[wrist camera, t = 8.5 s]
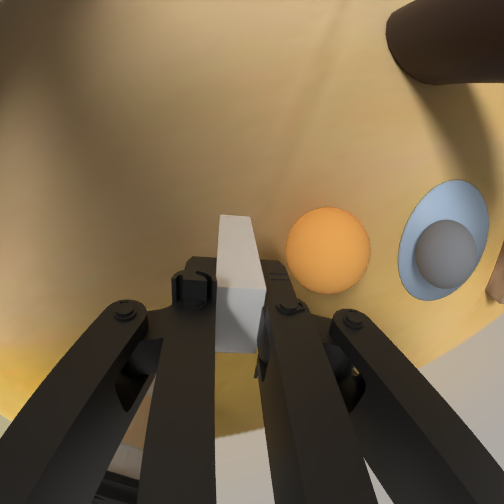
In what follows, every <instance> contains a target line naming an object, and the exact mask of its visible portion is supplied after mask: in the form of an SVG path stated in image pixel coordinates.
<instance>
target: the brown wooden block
mask: <svg viewBox="0 0 504 504" xmlns="http://www.w3.org/2000/svg"><path fill="white" fill-rule="evenodd" d="M485 291H486V292H487V293H489V294H490V295H491V296H492V297H493V298H494V299H495V300H496V301H497V302H498V303H499V304H504V243H503V246H502V249H501V252H500V254H499V257H498V260H497V263H496V265H495V268H494V271H493V273H492V276H491V278H490V281H489V283H488V285H487V288H486V290H485Z"/></svg>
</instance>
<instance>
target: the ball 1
mask: <svg viewBox="0 0 504 504" xmlns="http://www.w3.org/2000/svg"><path fill="white" fill-rule="evenodd" d="M370 255H371V247H370V240H369V237H368V234H367V232H366V230H365V228H364V226H363V225H362V224H361V223H360V221H359V220H358V219H357V218H356V217H355V216H353V215H352V214H350V213H348V212H346V211H344V210H342V209H338V208H333V207H323V208H318V209H315V210H312V211H310V212H308V213H306V214H305V215H303V216H302V217H301V218H299V219H298V220H297V222H296V223H295V224H294V226H293V227H292V228H291V230H290V232H289V235H288V238H287V242H286V260H287V263H288V266H289V269H290V271H291V273H292V274H293V276H294V277H295V278H296V280H297V281H298V282H299V283H300V284H302V285H303V286H304V287H306V288H308V289H309V290H312V291H314V292H317V293H322V294H334V293H339V292H342V291H345V290H347V289H349V288H350V287H352V286H353V285H355V284H356V283H357V282H358V281H359V280H360V279H361V278H362V276H363V275H364V273H365V271H366V269H367V267H368V264H369V261H370Z"/></svg>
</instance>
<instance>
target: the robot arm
mask: <svg viewBox="0 0 504 504" xmlns="http://www.w3.org/2000/svg"><path fill="white" fill-rule="evenodd" d="M171 281H172V305H170V306H169V307H166V308H164V309H160V310H154V311H147V310H146V307H145V306H144V305H143V304H142V303H140V302H138V301H135V300H120V301H117V302H114V303H112V304H111V305H109V306H108V307H107V308H106V309H105V310H104V311H103V312H102V313H101V314H100V315H99V316H98V318H97V319H96V320H95V321H94V322H93V323H92V324H91V325H90V326H89V327H88V329H87V330H86V331H85V332H84V333H83V334H82V335H81V337H80V338H79V339H78V340H77V341H76V342H75V343H74V345H73V346H72V347H71V348H70V349H69V350H68V352H67V353H66V354H65V355H64V356H63V357H62V359H61V360H60V361H59V362H58V363H57V365H56V366H55V367H54V368H53V369H52V371H51V372H50V373H49V374H48V376H47V377H46V378H45V379H44V381H43V382H42V383H41V384H40V386H39V387H38V388H37V389H36V391H35V392H34V393H33V395H32V396H31V397H30V398H29V400H28V401H27V402H26V404H25V405H24V406H23V408H22V409H21V410H20V412H19V413H18V415H17V416H16V417H15V419H14V420H13V421H12V423H11V424H10V426H9V427H8V428H7V430H6V431H5V433H4V434H3V436H2V437H1V439H0V504H91V502H92V500H93V498H94V496H95V494H96V491H97V489H98V487H99V485H100V483H101V481H102V479H103V477H104V475H105V473H106V471H107V469H108V467H109V465H110V463H111V461H112V459H113V457H114V455H115V453H116V451H117V449H118V447H119V445H120V443H121V441H122V439H123V437H124V435H125V433H126V431H127V430H128V428H129V426H130V424H131V422H132V420H133V418H134V416H135V414H136V412H137V410H138V408H139V406H140V405H141V403H142V401H143V399H144V397H145V395H146V393H147V391H148V389H149V388H150V386H151V384H152V382H153V380H154V378H155V375H156V378H155V383H154V388H153V393H152V399H151V404H150V410H149V416H148V422H147V428H146V434H145V441H144V448H143V455H142V463H141V471H140V479H139V488H138V498H137V504H216V478H215V421H214V388H215V352H226V353H256V348H257V346H258V359H257V364H256V369H255V375H254V378H257V376H258V380H259V387H260V395H261V403H262V411H263V419H264V426H265V434H266V441H267V449H268V456H269V463H270V471H271V479H272V486H273V493H274V500H275V504H378V502H377V498H376V495H375V492H374V489H373V485H372V482H371V479H370V476H369V473H368V470H367V467H366V464H365V461H364V459H365V460H366V462H367V463H368V465H369V467H370V468H371V470H372V471H373V473H374V474H375V476H376V477H377V479H378V480H379V482H380V483H381V485H382V486H383V488H384V489H385V491H386V492H387V494H388V495H389V497H390V498H391V500H392V501H393V503H394V504H504V471H503V470H502V468H501V467H500V466H499V465H498V463H497V462H496V461H495V459H494V458H493V457H492V456H491V454H490V453H489V452H488V451H487V449H486V448H485V447H484V446H483V445H482V443H481V442H480V441H479V440H478V439H477V437H476V436H475V435H474V434H473V432H472V431H471V430H470V429H469V428H468V426H467V425H466V424H465V423H464V422H463V421H462V419H461V418H460V417H459V416H458V415H457V414H456V412H455V411H454V410H453V409H452V408H451V407H450V405H449V404H448V403H447V402H446V401H445V400H444V399H443V397H441V395H440V394H439V393H438V392H437V391H436V390H435V388H434V387H433V386H432V385H431V384H430V383H429V382H428V381H427V379H426V378H425V377H424V376H423V375H422V374H421V373H420V372H419V371H418V370H417V368H416V367H415V366H414V365H413V364H412V363H411V362H410V361H409V360H408V359H407V358H406V356H405V355H404V354H403V353H402V352H401V351H400V350H399V349H398V348H397V347H396V346H395V345H394V344H393V343H392V341H391V340H390V339H389V338H388V337H387V336H386V335H385V334H384V333H383V332H382V331H381V330H380V329H379V328H378V327H377V326H376V325H375V324H374V323H373V322H372V321H371V319H370V318H369V317H367V316H366V315H365V314H363V313H361V312H359V311H357V310H353V309H341V310H339V311H337V312H336V313H335V314H334V316H333V319H330V318H325V317H320V316H317V315H313V314H311V313H310V311H309V308H308V307H307V305H306V304H305V303H304V302H303V301H301V300H300V299H297V298H296V295H295V292H294V290H293V287H292V284H291V282H290V279H289V276H288V274H287V271H286V268H285V267H284V266H283V265H282V264H281V263H280V262H279V261H274V260H260V259H259V254H258V250H257V246H256V241H255V237H254V233H253V228H252V224H251V219H250V217H247V216H233V215H220V222H219V236H218V250H217V258H211V257H196V256H193V257H192V258H190V259H189V260H188V261H187V262H186V266H185V270H182V271H179V272H177V273H176V274H174V275H173V277H172V278H171ZM354 367H355V368H356V369H357V370H358V371H359V374H357V373H356V372H355V371H354ZM363 457H364V458H363Z"/></svg>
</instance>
